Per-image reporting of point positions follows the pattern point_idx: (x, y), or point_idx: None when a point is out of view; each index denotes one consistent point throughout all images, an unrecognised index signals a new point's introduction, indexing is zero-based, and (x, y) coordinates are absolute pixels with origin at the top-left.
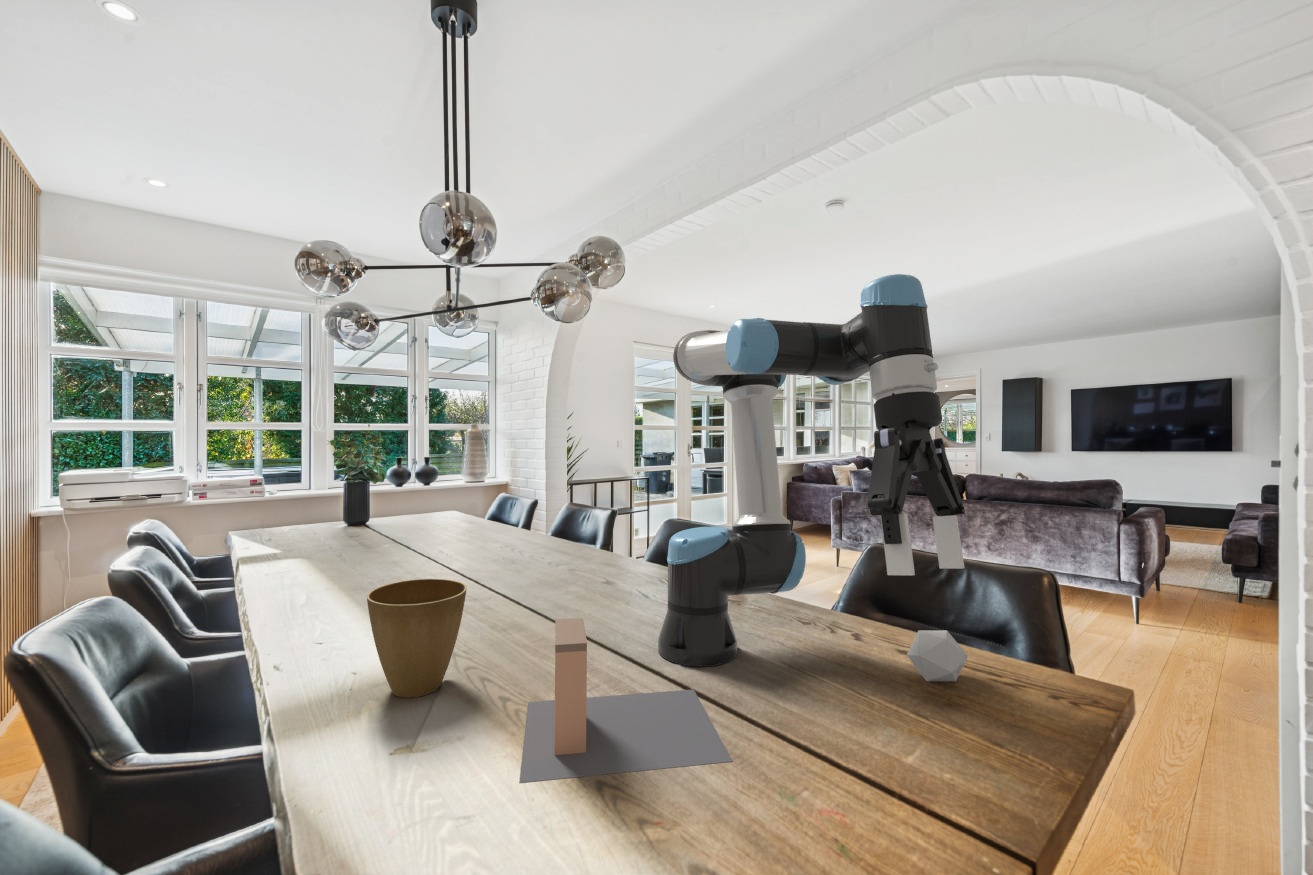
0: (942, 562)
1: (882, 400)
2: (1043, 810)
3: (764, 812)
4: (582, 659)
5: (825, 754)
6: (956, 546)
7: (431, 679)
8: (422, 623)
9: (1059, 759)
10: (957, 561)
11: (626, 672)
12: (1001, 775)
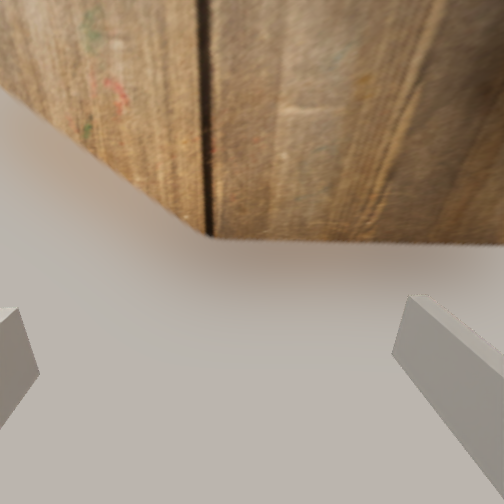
0: (416, 318)
1: None
2: (287, 232)
3: (43, 25)
4: None
5: (213, 9)
6: (442, 408)
7: None
8: None
9: (392, 225)
10: (406, 362)
11: None
12: (322, 194)
